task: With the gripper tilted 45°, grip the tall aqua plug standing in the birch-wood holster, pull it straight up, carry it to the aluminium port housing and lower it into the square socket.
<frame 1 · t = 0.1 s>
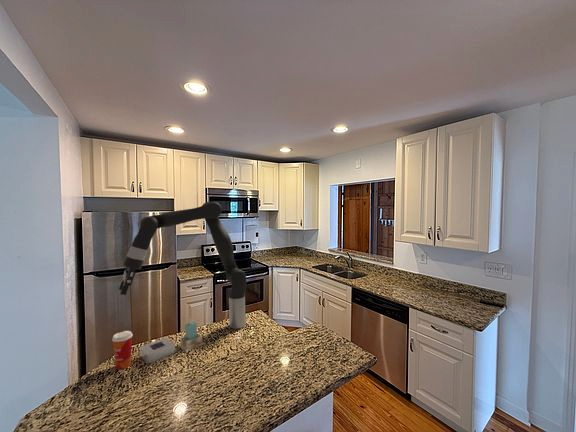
hand: (122, 292, 117), 31 cm above the countertop, tool tilted 20°, fingers open, 8 cm apart
paper cup: (123, 366, 113), on the countertop
plug: (191, 343, 130), point 1 cm above the countertop, touching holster
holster: (191, 345, 130), on the countertop
port: (157, 355, 121), on the countertop
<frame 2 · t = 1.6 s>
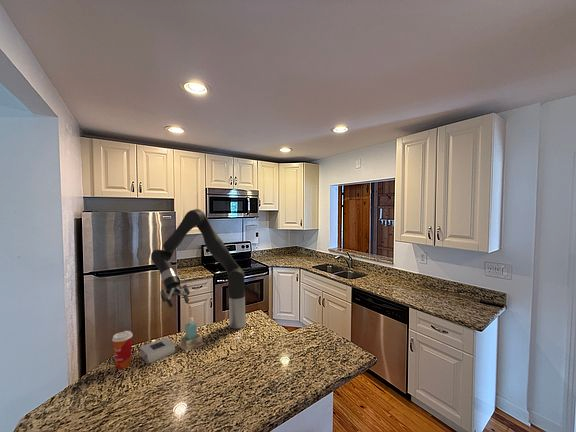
hand: (179, 304, 137), 18 cm above the countertop, tool tilted 45°, fingers open, 8 cm apart
nothing on the countertop moved.
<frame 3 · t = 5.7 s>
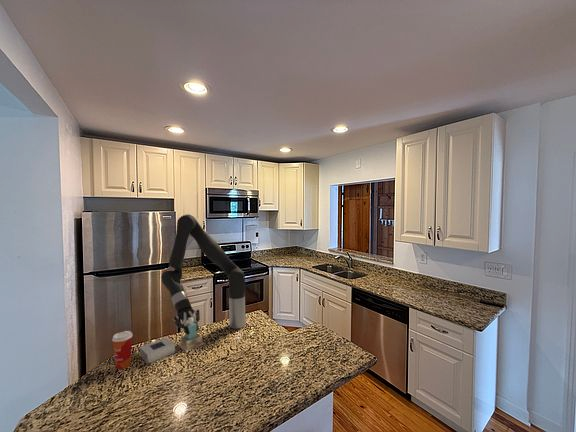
hand: (192, 332, 128), 7 cm above the countertop, tool tilted 45°, fingers closed on plug, 4 cm apart
plug: (191, 343, 130), point 1 cm above the countertop, touching gripper, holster
everything else where it was.
when the fingers open (8 cm above the countertop, at t = 12.0 s): plug stays where it is, resting on port.
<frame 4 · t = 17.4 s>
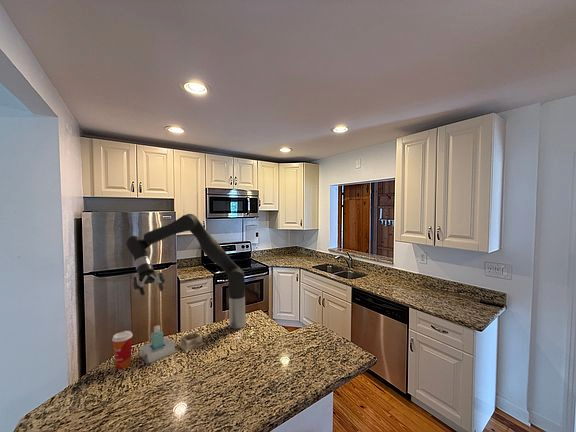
hand: (152, 292, 130), 27 cm above the countertop, tool tilted 45°, fingers open, 8 cm apart
plug: (157, 353, 121), point 1 cm above the countertop, touching port
everything else where it was.
at the end: plug 0.1 cm off-centre on the port, point 0.8 cm above the port's base; plug tilted 0°; the gripper is holding nothing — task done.
